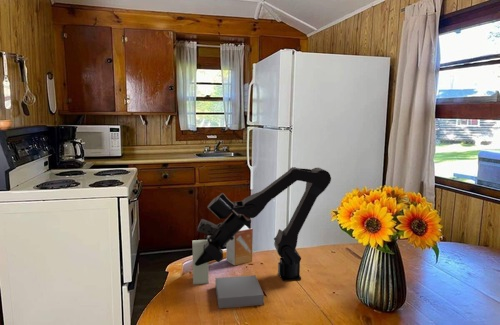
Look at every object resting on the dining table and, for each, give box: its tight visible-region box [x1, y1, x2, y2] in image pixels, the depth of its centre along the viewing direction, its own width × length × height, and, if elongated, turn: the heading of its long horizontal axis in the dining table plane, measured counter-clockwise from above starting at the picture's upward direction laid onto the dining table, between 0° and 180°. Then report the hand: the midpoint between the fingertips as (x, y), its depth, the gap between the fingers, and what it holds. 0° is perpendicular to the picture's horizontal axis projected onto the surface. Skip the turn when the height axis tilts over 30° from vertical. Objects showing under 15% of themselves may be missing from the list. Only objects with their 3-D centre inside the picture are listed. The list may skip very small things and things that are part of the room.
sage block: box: [191, 239, 210, 285], centre depth 115 cm, size 5×5×13 cm
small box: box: [225, 225, 254, 266], centre depth 131 cm, size 8×6×13 cm
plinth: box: [214, 274, 265, 309], centre depth 106 cm, size 13×13×3 cm
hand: (196, 261), depth 115 cm, fingers closed on sage block, 5 cm apart
